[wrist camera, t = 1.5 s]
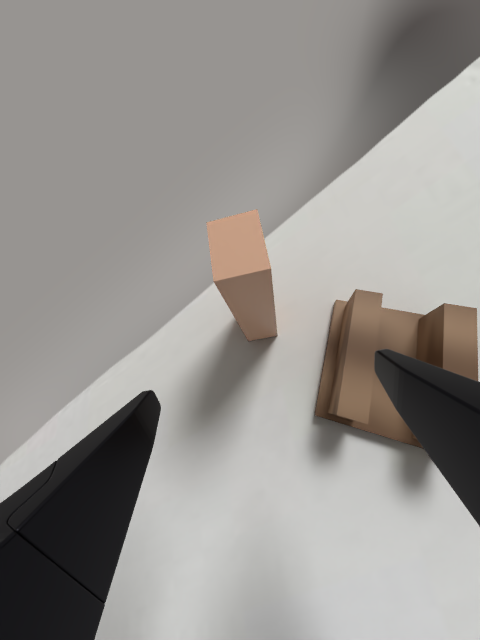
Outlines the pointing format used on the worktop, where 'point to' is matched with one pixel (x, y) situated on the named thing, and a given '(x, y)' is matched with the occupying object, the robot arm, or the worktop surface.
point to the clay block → (243, 272)
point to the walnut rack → (395, 334)
